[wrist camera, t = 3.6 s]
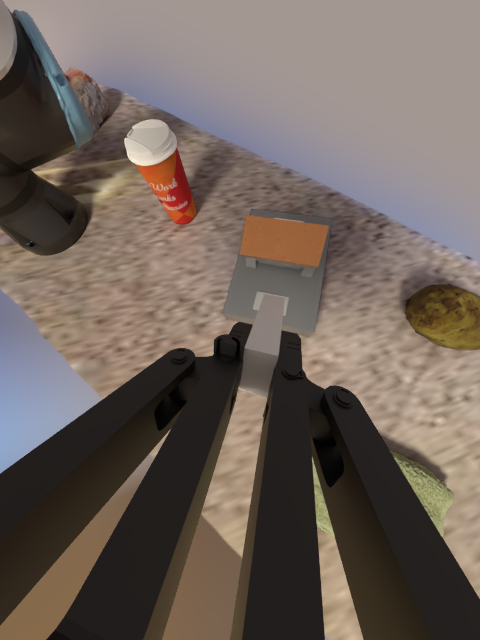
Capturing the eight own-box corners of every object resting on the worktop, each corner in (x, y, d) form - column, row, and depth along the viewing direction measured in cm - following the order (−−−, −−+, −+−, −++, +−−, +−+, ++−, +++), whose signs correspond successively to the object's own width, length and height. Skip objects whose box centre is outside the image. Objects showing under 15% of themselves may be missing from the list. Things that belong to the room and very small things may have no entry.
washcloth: (414, 584, 23) (437, 617, 20) (278, 496, 27) (281, 513, 23) (441, 473, 26) (466, 487, 22) (314, 406, 29) (320, 411, 26)
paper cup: (160, 223, 40) (111, 150, 27) (176, 195, 42) (137, 113, 28) (192, 233, 39) (158, 160, 25) (207, 203, 41) (182, 120, 27)
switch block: (307, 336, 31) (322, 326, 24) (226, 319, 33) (217, 305, 26) (324, 234, 36) (340, 201, 29) (252, 225, 38) (250, 191, 31)
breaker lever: (298, 272, 30) (318, 266, 15) (259, 265, 31) (239, 254, 16) (303, 252, 30) (329, 225, 14) (262, 246, 31) (246, 214, 15)
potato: (462, 374, 28) (540, 376, 20) (378, 323, 31) (418, 308, 23) (486, 330, 29) (568, 315, 21) (403, 285, 32) (449, 258, 24)
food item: (95, 107, 53) (60, 50, 44) (116, 114, 52) (84, 56, 42) (64, 141, 51) (19, 88, 41) (84, 149, 49) (43, 96, 40)
